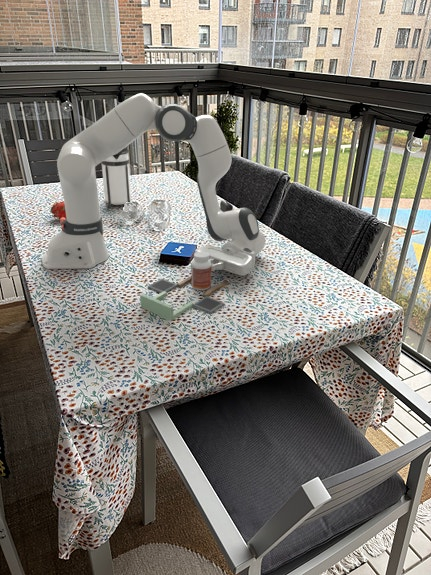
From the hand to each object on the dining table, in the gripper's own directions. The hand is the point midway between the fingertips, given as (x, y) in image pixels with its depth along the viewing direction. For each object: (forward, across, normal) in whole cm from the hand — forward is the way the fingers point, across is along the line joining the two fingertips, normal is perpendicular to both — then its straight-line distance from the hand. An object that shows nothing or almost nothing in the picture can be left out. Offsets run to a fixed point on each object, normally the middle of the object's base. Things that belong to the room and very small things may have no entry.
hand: (208, 267), depth 141 cm
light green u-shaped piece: (+20, 0, +5) cm, 20 cm away
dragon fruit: (-8, -82, +5) cm, 83 cm away
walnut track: (+3, 0, +5) cm, 6 cm away
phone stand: (-41, -22, +5) cm, 46 cm away
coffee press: (-36, -81, +5) cm, 89 cm away
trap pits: (+11, 0, +5) cm, 12 cm away
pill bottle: (+4, 0, +5) cm, 6 cm away
